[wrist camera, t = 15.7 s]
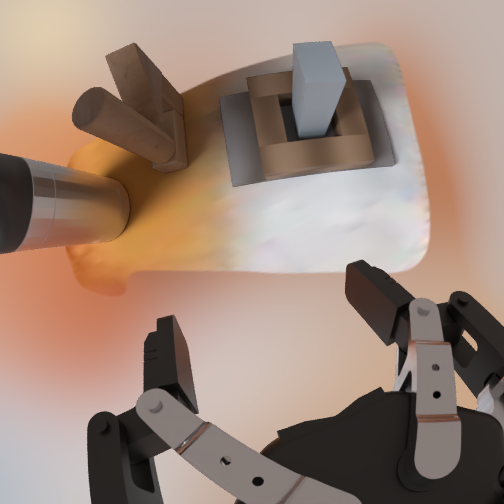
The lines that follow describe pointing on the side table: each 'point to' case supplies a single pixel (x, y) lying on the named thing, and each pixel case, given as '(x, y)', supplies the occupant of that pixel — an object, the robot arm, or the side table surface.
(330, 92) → the rectangular block
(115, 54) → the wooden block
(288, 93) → the wooden socket base
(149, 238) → the side table surface
